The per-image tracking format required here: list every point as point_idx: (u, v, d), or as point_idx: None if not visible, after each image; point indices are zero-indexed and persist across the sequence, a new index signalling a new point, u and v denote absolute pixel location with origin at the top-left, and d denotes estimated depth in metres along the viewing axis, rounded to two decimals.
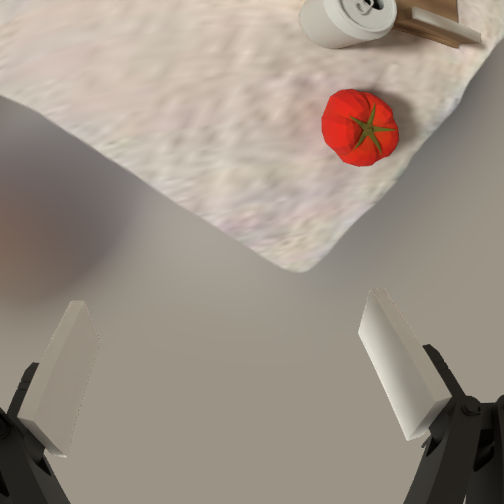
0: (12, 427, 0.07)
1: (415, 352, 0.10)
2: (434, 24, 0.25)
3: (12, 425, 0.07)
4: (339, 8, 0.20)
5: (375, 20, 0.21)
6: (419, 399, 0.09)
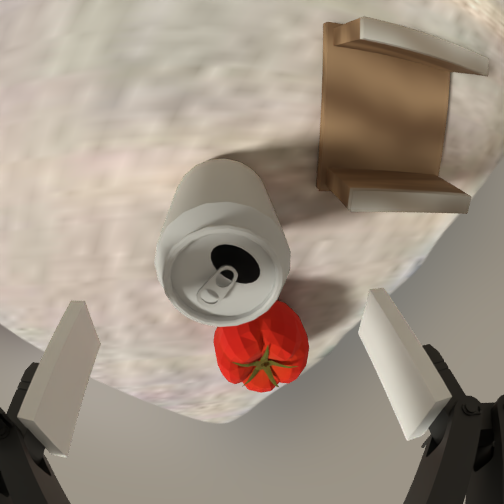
0: (12, 427, 0.07)
1: (415, 352, 0.10)
2: None
3: (12, 425, 0.07)
4: (173, 304, 0.17)
5: (242, 302, 0.17)
6: (419, 399, 0.09)
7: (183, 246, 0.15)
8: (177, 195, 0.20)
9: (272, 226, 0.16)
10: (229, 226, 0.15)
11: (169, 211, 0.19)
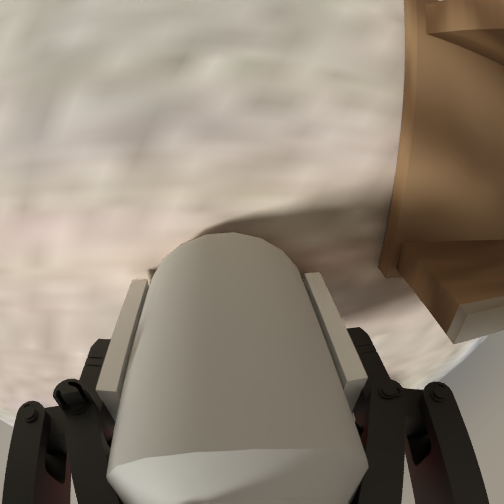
0: (90, 404, 0.08)
1: (336, 332, 0.11)
2: None
3: (91, 402, 0.08)
4: None
5: None
6: None
7: None
8: (142, 334, 0.10)
9: (351, 465, 0.06)
10: None
11: (128, 370, 0.09)
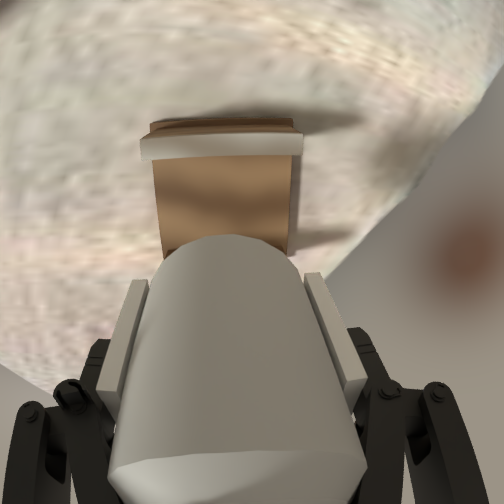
0: (91, 404, 0.08)
1: (336, 332, 0.11)
2: None
3: (91, 402, 0.08)
4: None
5: None
6: None
7: None
8: (143, 335, 0.10)
9: (349, 466, 0.06)
10: None
11: (129, 372, 0.09)
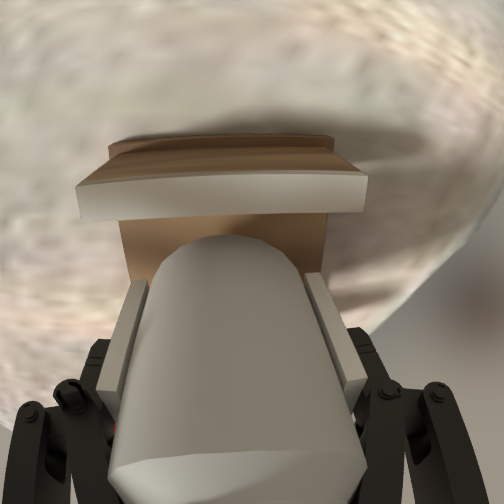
0: (91, 404, 0.08)
1: (336, 332, 0.11)
2: None
3: (91, 402, 0.08)
4: None
5: None
6: None
7: None
8: (143, 336, 0.10)
9: (350, 466, 0.06)
10: None
11: (129, 372, 0.09)
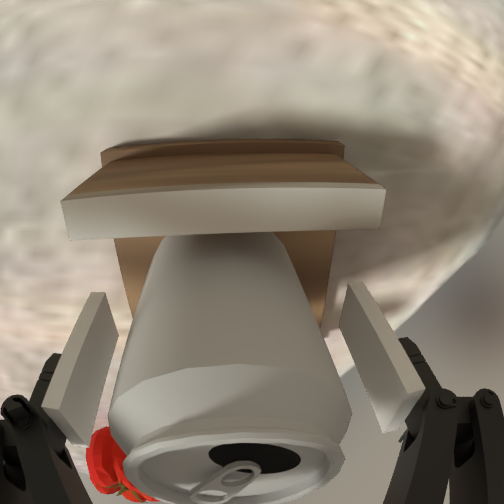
0: (36, 418, 0.07)
1: (390, 344, 0.11)
2: None
3: (36, 416, 0.07)
4: (153, 496, 0.07)
5: (266, 486, 0.08)
6: (393, 391, 0.10)
7: (151, 456, 0.06)
8: (144, 295, 0.11)
9: (329, 394, 0.07)
10: (245, 434, 0.06)
11: (131, 327, 0.10)
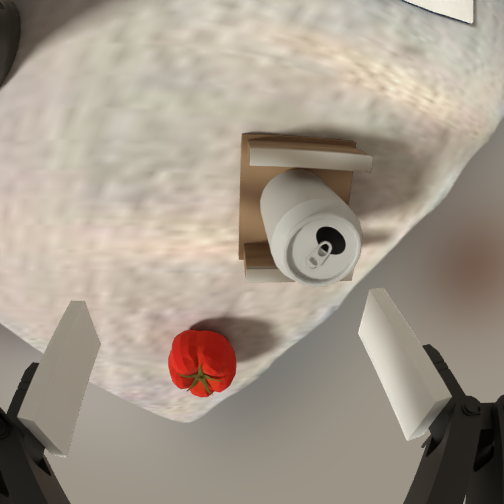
0: (12, 427, 0.07)
1: (415, 352, 0.10)
2: None
3: (12, 425, 0.07)
4: (286, 269, 0.24)
5: (331, 268, 0.25)
6: (419, 399, 0.09)
7: (302, 226, 0.22)
8: (276, 194, 0.28)
9: (353, 216, 0.24)
10: (332, 213, 0.22)
11: (272, 205, 0.27)
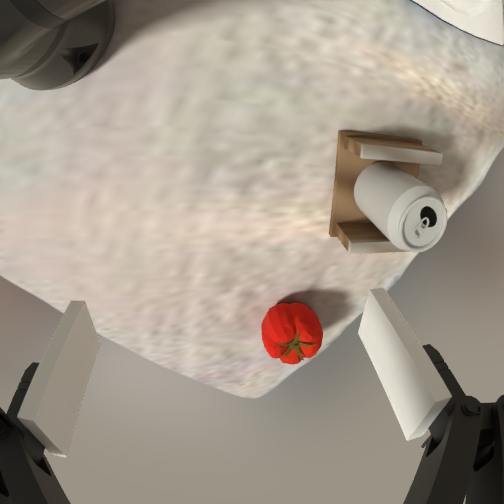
0: (12, 427, 0.07)
1: (415, 352, 0.10)
2: None
3: (12, 425, 0.07)
4: (400, 238, 0.29)
5: (426, 238, 0.30)
6: (419, 399, 0.09)
7: (414, 205, 0.27)
8: (379, 182, 0.33)
9: (441, 199, 0.29)
10: (433, 197, 0.27)
11: (379, 190, 0.32)
